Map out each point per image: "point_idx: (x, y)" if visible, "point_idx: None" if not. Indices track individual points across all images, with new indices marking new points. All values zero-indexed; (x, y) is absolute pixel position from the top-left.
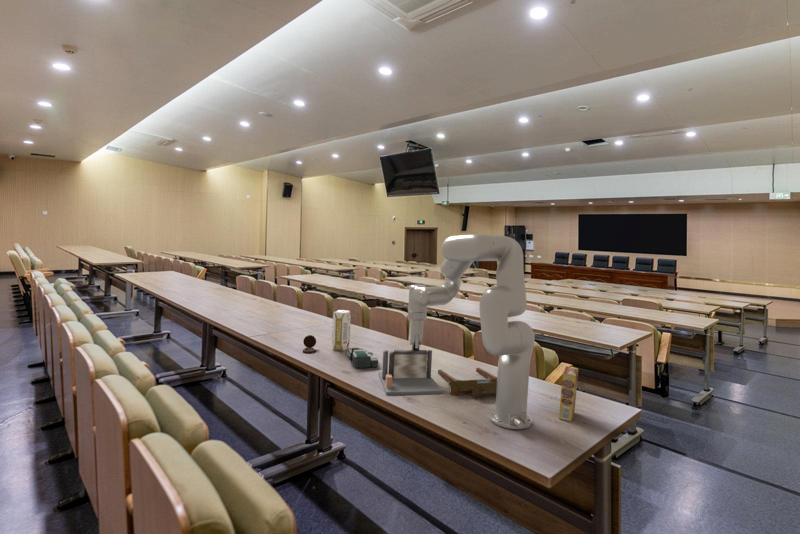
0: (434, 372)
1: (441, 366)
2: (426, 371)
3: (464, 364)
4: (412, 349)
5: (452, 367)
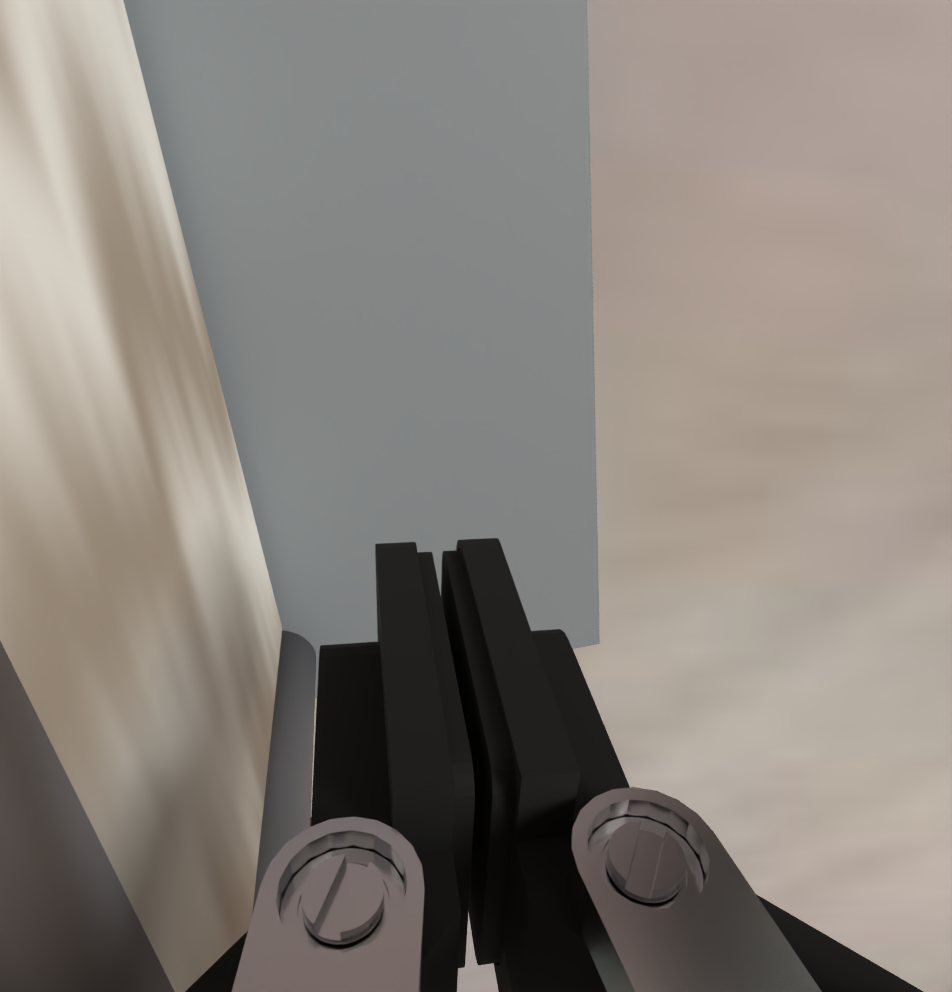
0: (636, 706)
1: (855, 774)
2: (589, 636)
3: (865, 948)
4: (268, 927)
5: (795, 867)
